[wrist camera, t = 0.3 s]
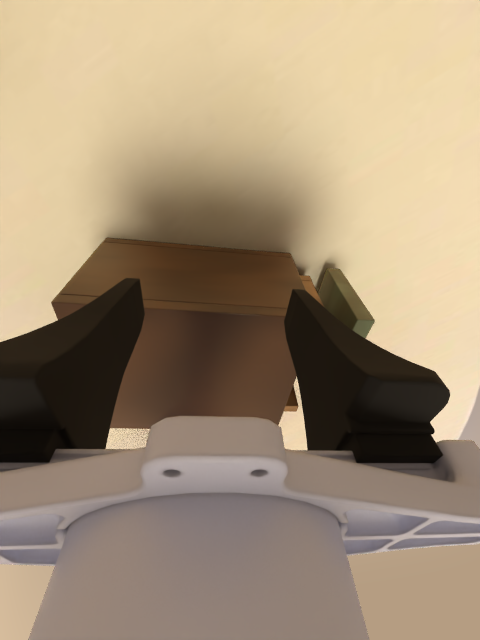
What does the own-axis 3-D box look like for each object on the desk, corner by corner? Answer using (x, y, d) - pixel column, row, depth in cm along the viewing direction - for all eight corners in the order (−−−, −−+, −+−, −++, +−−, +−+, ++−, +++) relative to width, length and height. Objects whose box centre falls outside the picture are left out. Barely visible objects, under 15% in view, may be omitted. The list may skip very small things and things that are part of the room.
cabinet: (290, 253, 22) (318, 318, 16) (265, 357, 30) (276, 431, 24) (105, 237, 21) (50, 302, 14) (129, 351, 29) (100, 428, 22)
